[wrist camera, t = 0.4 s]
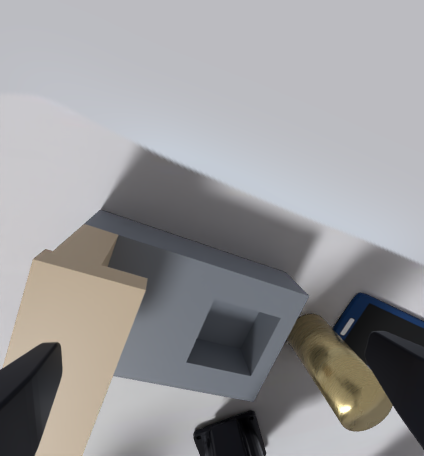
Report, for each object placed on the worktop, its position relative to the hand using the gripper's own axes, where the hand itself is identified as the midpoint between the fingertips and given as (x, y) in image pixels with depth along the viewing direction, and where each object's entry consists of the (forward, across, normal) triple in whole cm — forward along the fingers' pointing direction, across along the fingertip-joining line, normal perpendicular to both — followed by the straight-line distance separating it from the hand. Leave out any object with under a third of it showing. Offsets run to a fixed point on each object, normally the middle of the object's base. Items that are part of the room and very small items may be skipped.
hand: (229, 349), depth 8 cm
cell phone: (+15, -21, +12) cm, 28 cm away
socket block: (+14, 0, +6) cm, 15 cm away
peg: (+14, -12, +10) cm, 21 cm away
